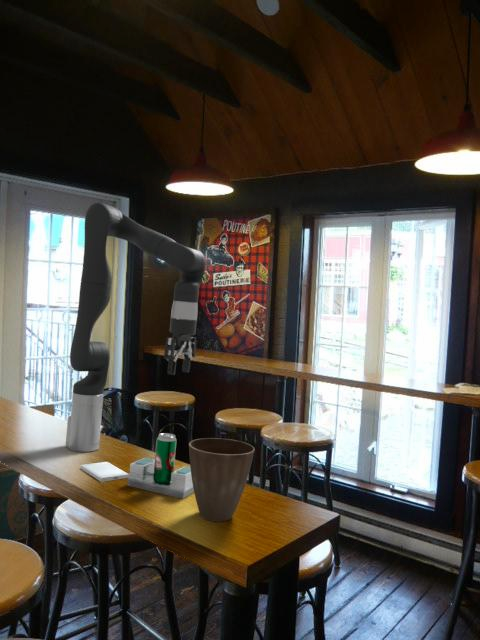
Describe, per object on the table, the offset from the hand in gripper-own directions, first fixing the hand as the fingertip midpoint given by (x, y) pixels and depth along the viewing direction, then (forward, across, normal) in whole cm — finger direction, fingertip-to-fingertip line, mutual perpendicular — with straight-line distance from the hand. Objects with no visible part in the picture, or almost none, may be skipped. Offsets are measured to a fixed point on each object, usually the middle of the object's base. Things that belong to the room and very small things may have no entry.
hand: (178, 373), depth 158 cm
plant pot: (+27, +26, +27) cm, 46 cm away
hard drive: (+28, +17, -10) cm, 34 cm away
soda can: (+26, +17, +8) cm, 32 cm away
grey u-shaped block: (+27, +17, +8) cm, 33 cm away
